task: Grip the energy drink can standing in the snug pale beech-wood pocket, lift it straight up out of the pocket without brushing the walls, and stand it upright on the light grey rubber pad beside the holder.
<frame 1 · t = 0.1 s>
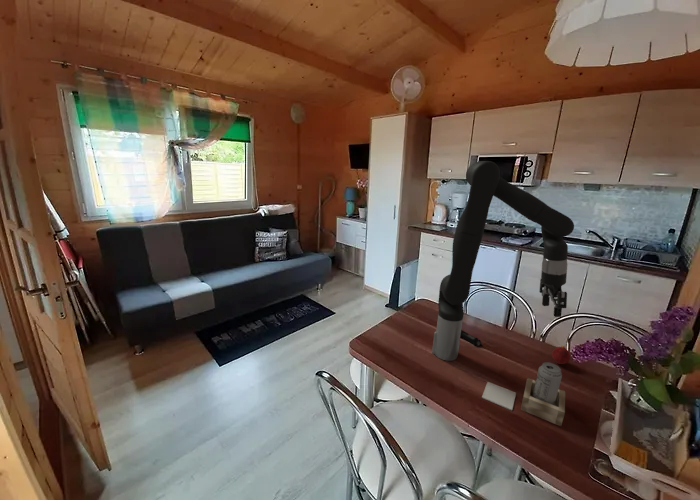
hand: (551, 310, 112), 22 cm above the table, tool pointing down, fingers open, 8 cm apart
grey pad: (499, 395, 101), on the table
energy drink can: (541, 407, 97), resting in pocket holder
pocket holder: (541, 406, 97), on the table
electric trimmer: (464, 338, 134), on the table
onion: (558, 364, 118), on the table
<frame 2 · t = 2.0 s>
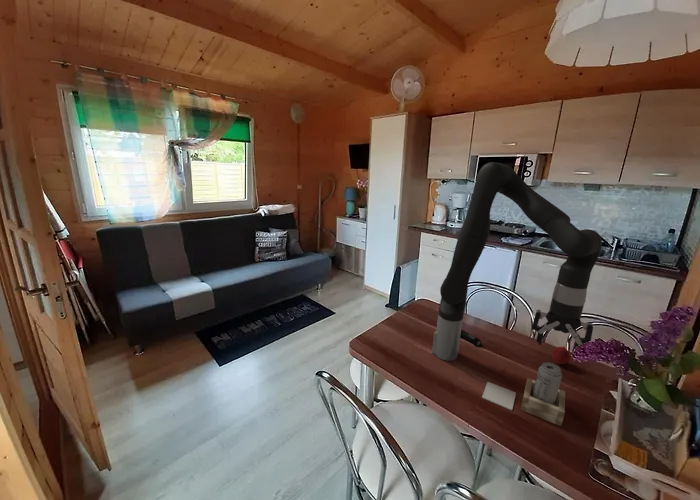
hand: (556, 348, 91), 22 cm above the table, tool pointing down, fingers open, 8 cm apart
nothing on the table moved.
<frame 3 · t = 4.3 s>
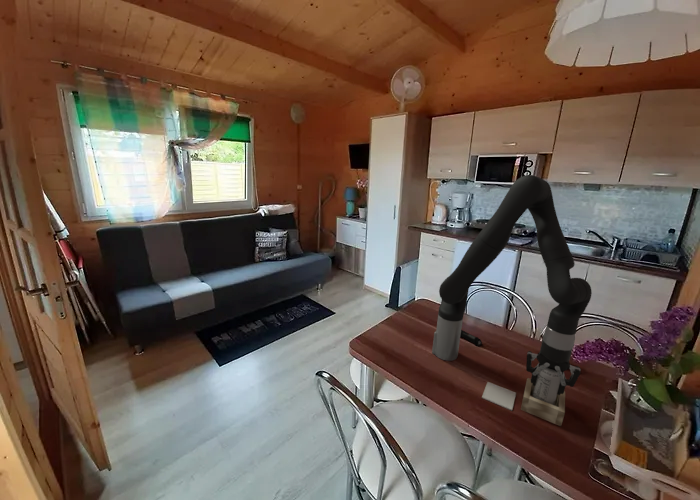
hand: (545, 388, 95), 7 cm above the table, tool pointing down, fingers closed on energy drink can, 6 cm apart
energy drink can: (541, 407, 97), resting in pocket holder, touching gripper
everything else where it was.
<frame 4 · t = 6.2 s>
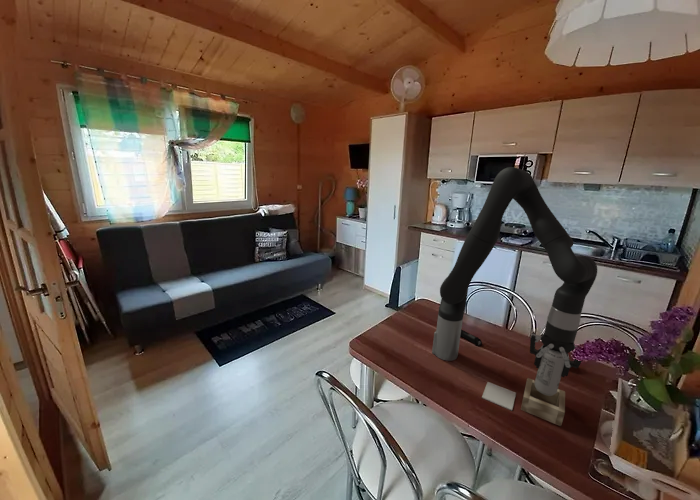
hand: (549, 370, 93), 14 cm above the table, tool pointing down, fingers closed on energy drink can, 6 cm apart
energy drink can: (544, 390, 95), point 6 cm above the table, touching gripper
everything else where it was.
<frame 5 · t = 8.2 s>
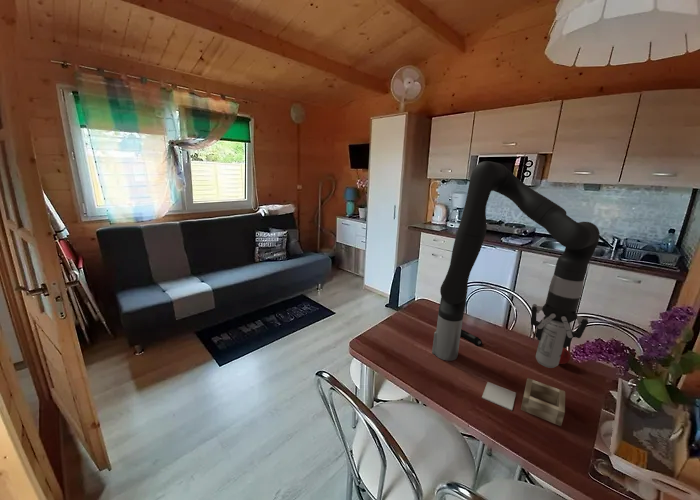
hand: (551, 342, 91), 23 cm above the table, tool pointing down, fingers closed on energy drink can, 6 cm apart
energy drink can: (546, 363, 93), point 16 cm above the table, touching gripper
everything else where it was.
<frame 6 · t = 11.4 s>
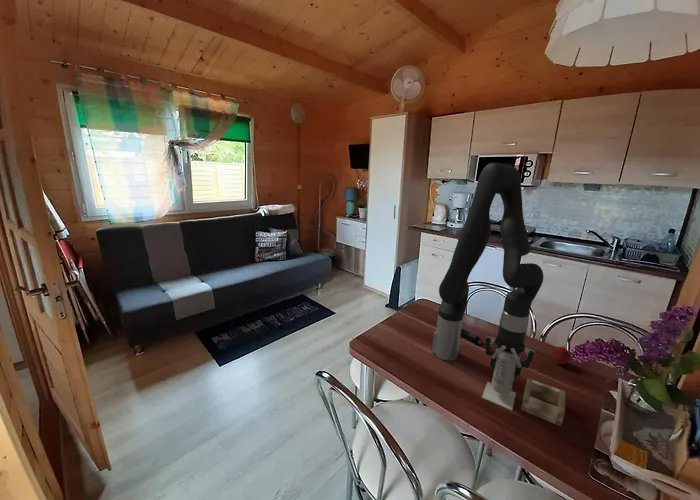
hand: (504, 370, 98), 10 cm above the table, tool pointing down, fingers closed on energy drink can, 6 cm apart
energy drink can: (500, 389, 100), point 2 cm above the table, touching gripper
when the fingers open (9 cm above the table, at t = 12.6 s): energy drink can drops 2 cm, resting on grey pad.
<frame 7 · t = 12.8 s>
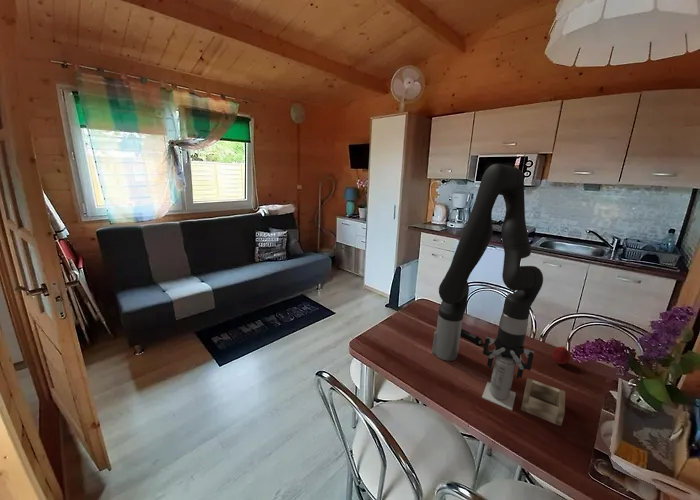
hand: (503, 371, 98), 9 cm above the table, tool pointing down, fingers open, 7 cm apart
energy drink can: (498, 395, 101), resting on grey pad
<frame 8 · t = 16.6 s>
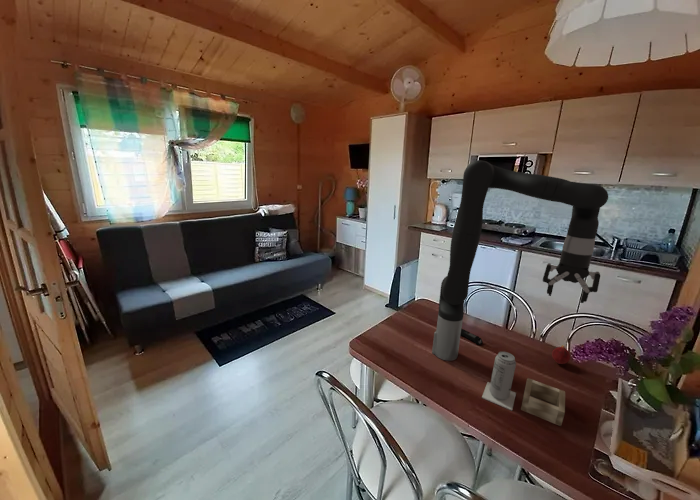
hand: (565, 298, 98), 33 cm above the table, tool pointing down, fingers open, 8 cm apart
at the end: energy drink can 0.1 cm off-centre on the grey pad, point 0.2 cm above the grey pad's base; energy drink can tilted 0°; the gripper is holding nothing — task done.
